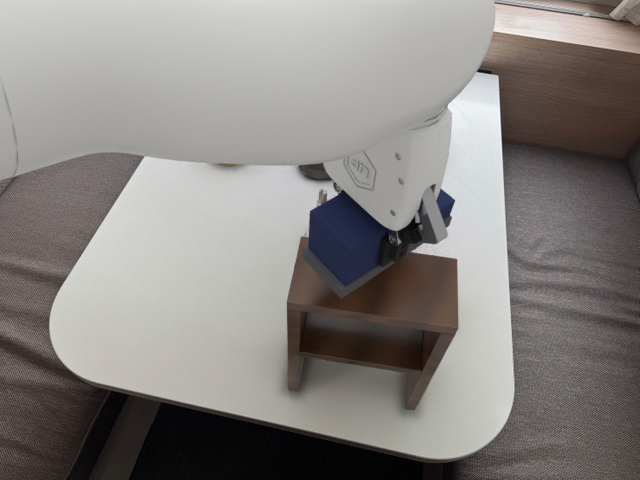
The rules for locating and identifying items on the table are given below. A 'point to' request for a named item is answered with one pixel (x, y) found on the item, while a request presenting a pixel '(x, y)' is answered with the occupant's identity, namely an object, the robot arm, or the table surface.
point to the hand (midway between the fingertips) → (369, 236)
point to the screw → (319, 203)
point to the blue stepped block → (351, 242)
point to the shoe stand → (376, 320)
